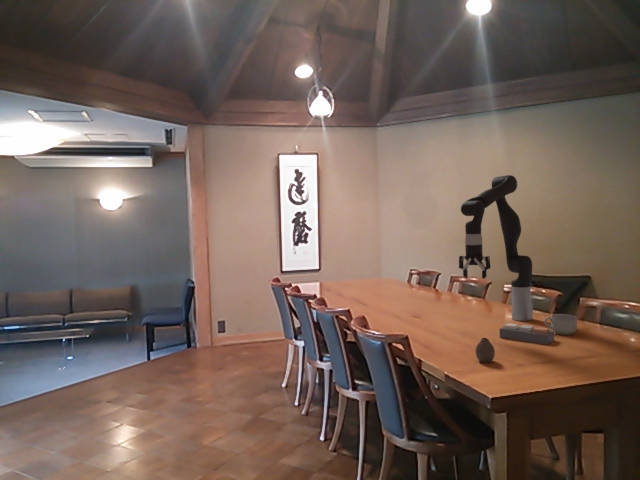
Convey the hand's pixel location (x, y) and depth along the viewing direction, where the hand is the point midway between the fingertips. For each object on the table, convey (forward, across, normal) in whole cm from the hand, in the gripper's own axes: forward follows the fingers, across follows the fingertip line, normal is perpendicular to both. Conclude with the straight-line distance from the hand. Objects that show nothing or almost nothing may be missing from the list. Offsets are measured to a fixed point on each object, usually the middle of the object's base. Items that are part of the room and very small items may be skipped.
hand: (474, 278), depth 226 cm
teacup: (+26, -32, -17) cm, 45 cm away
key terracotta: (+23, -29, +1) cm, 37 cm away
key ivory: (+23, -16, 0) cm, 28 cm away
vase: (+26, -20, +41) cm, 52 cm away
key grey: (+23, -23, +1) cm, 32 cm away
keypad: (+26, -23, +1) cm, 35 cm away
